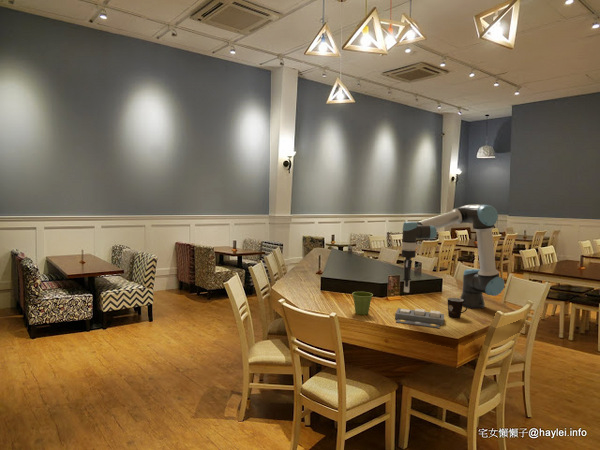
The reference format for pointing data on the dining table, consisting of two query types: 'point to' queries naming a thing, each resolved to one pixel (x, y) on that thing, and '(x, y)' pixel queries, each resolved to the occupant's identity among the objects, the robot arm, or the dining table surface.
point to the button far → (405, 311)
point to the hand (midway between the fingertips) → (406, 292)
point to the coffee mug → (455, 307)
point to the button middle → (419, 312)
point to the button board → (419, 317)
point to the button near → (435, 314)
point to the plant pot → (362, 302)
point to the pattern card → (418, 323)
